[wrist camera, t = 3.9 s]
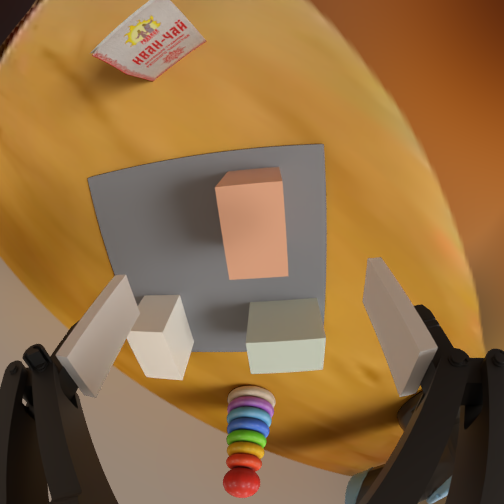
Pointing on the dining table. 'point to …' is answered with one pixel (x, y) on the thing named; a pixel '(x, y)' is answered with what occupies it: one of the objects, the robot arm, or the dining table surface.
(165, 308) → the cream brick
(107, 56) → the ivan-chai tea box
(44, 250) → the dining table surface
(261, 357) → the sage brick
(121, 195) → the charcoal mat
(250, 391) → the stacking toy
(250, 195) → the terracotta brick
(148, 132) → the dining table surface
